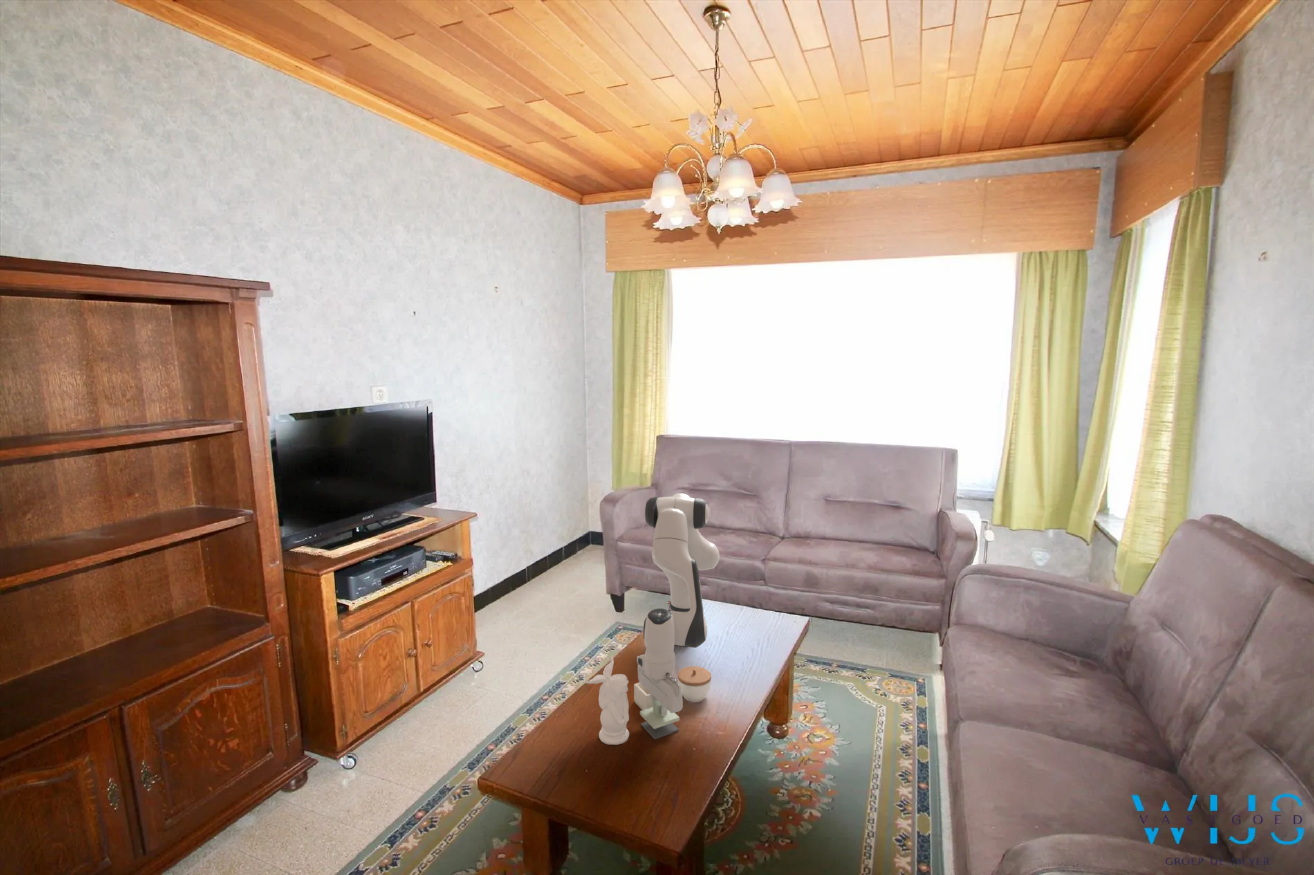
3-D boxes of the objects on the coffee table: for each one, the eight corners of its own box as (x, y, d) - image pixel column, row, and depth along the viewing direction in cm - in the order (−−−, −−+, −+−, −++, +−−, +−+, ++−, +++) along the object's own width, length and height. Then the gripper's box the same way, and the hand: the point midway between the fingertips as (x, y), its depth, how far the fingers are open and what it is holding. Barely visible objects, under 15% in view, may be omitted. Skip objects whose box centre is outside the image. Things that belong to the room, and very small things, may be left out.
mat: (641, 725, 181) (641, 723, 181) (664, 717, 185) (664, 715, 185) (654, 739, 174) (654, 737, 174) (678, 731, 178) (678, 729, 178)
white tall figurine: (631, 747, 171) (631, 673, 168) (586, 751, 169) (585, 677, 166) (626, 721, 183) (626, 652, 179) (584, 725, 181) (583, 655, 178)
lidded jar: (708, 708, 190) (709, 679, 189) (674, 704, 192) (674, 676, 191) (712, 690, 200) (713, 663, 199) (680, 686, 202) (680, 659, 201)
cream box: (634, 701, 193) (634, 684, 192) (656, 695, 197) (656, 677, 196) (646, 714, 186) (646, 696, 185) (669, 707, 190) (669, 689, 189)
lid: (640, 714, 180) (640, 700, 180) (664, 706, 184) (664, 692, 184) (654, 729, 173) (654, 714, 173) (679, 720, 177) (679, 705, 177)
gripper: (688, 679, 170) (688, 726, 171) (652, 649, 187) (652, 692, 189) (668, 685, 166) (668, 733, 168) (633, 654, 184) (634, 697, 186)
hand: (659, 711), depth 179 cm, fingers closed on lid, 3 cm apart
